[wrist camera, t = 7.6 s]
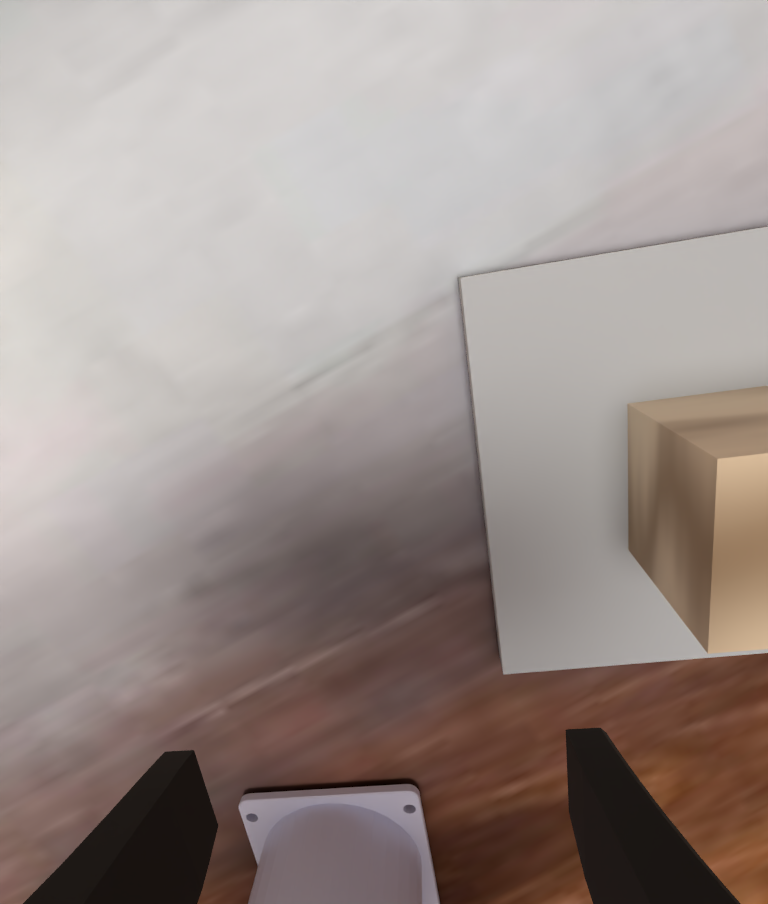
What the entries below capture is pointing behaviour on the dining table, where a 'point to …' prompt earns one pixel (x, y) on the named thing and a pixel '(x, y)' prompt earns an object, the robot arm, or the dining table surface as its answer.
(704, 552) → the birch cube
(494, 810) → the dining table surface
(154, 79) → the dining table surface
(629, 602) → the light gray board
